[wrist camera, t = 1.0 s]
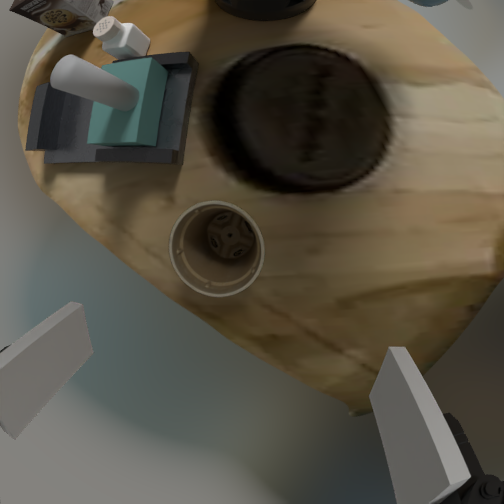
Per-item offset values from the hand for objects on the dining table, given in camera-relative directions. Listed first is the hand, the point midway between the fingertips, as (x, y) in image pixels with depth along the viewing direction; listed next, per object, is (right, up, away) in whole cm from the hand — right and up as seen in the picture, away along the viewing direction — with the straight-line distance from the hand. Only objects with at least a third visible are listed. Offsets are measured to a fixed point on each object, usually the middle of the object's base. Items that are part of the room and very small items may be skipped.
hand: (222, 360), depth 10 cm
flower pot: (-1, +7, +24) cm, 25 cm away
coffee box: (-27, +44, +17) cm, 55 cm away
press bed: (-18, +24, +22) cm, 37 cm away
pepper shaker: (-15, +33, +19) cm, 41 cm away
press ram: (-13, +22, +19) cm, 32 cm away
